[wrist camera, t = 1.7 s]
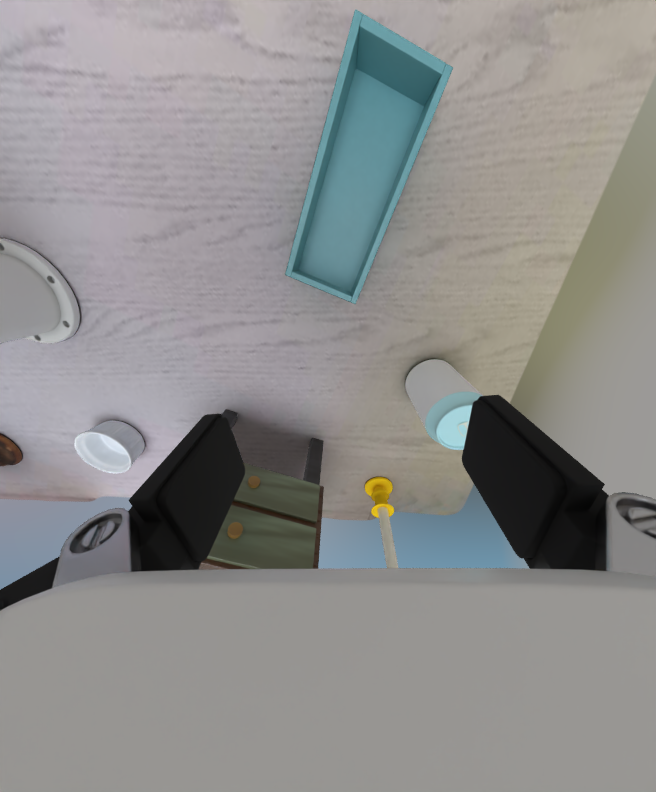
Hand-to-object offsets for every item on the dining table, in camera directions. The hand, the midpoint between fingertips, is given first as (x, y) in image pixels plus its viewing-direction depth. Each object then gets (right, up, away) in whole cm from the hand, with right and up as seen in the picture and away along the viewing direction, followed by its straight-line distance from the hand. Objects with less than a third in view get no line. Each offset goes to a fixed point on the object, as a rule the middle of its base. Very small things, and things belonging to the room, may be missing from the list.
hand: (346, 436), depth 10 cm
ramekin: (-37, -6, +34) cm, 51 cm away
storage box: (+2, +23, +17) cm, 28 cm away
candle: (+9, -16, +38) cm, 42 cm away
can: (+14, +4, +27) cm, 30 cm away
